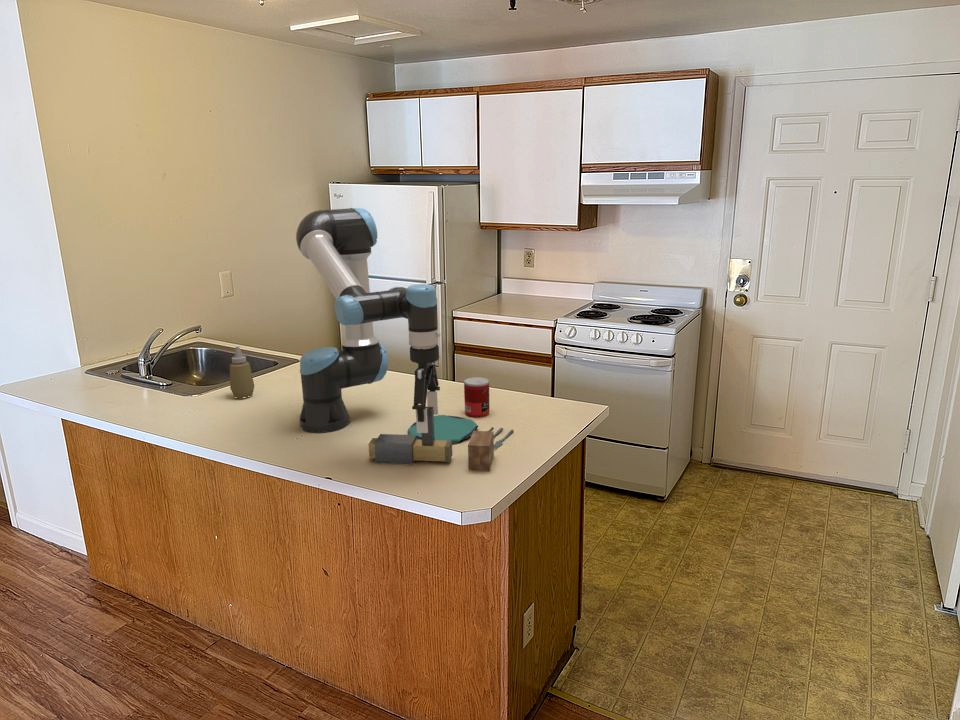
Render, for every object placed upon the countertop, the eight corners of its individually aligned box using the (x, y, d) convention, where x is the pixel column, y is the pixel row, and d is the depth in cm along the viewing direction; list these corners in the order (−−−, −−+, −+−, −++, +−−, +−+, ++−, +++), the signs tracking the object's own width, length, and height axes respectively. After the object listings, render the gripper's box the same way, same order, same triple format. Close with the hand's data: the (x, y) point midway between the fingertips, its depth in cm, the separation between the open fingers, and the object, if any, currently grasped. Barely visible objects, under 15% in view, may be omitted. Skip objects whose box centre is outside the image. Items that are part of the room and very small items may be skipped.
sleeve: (375, 463, 183) (374, 442, 182) (381, 454, 189) (380, 433, 187) (412, 464, 182) (411, 443, 180) (417, 455, 188) (416, 435, 186)
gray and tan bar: (369, 458, 184) (365, 409, 180) (373, 452, 188) (370, 403, 184) (449, 461, 181) (447, 411, 177) (452, 455, 185) (450, 406, 182)
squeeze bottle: (260, 395, 240) (254, 345, 235) (241, 401, 234) (235, 351, 229) (245, 391, 245) (239, 343, 240) (226, 398, 238) (219, 348, 233)
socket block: (468, 470, 178) (467, 445, 176) (473, 454, 188) (473, 430, 186) (489, 470, 177) (489, 446, 175) (493, 455, 187) (493, 431, 185)
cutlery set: (430, 417, 217) (430, 410, 216) (518, 432, 204) (518, 425, 203) (396, 440, 200) (396, 433, 199) (490, 458, 187) (490, 451, 186)
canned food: (487, 418, 214) (486, 385, 211) (462, 417, 216) (461, 383, 213) (491, 410, 221) (491, 377, 218) (467, 408, 223) (466, 376, 220)
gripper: (428, 358, 163) (432, 441, 169) (447, 334, 187) (450, 407, 193) (397, 358, 164) (402, 440, 170) (420, 334, 188) (424, 407, 194)
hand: (427, 423), depth 181 cm, fingers open, 13 cm apart
